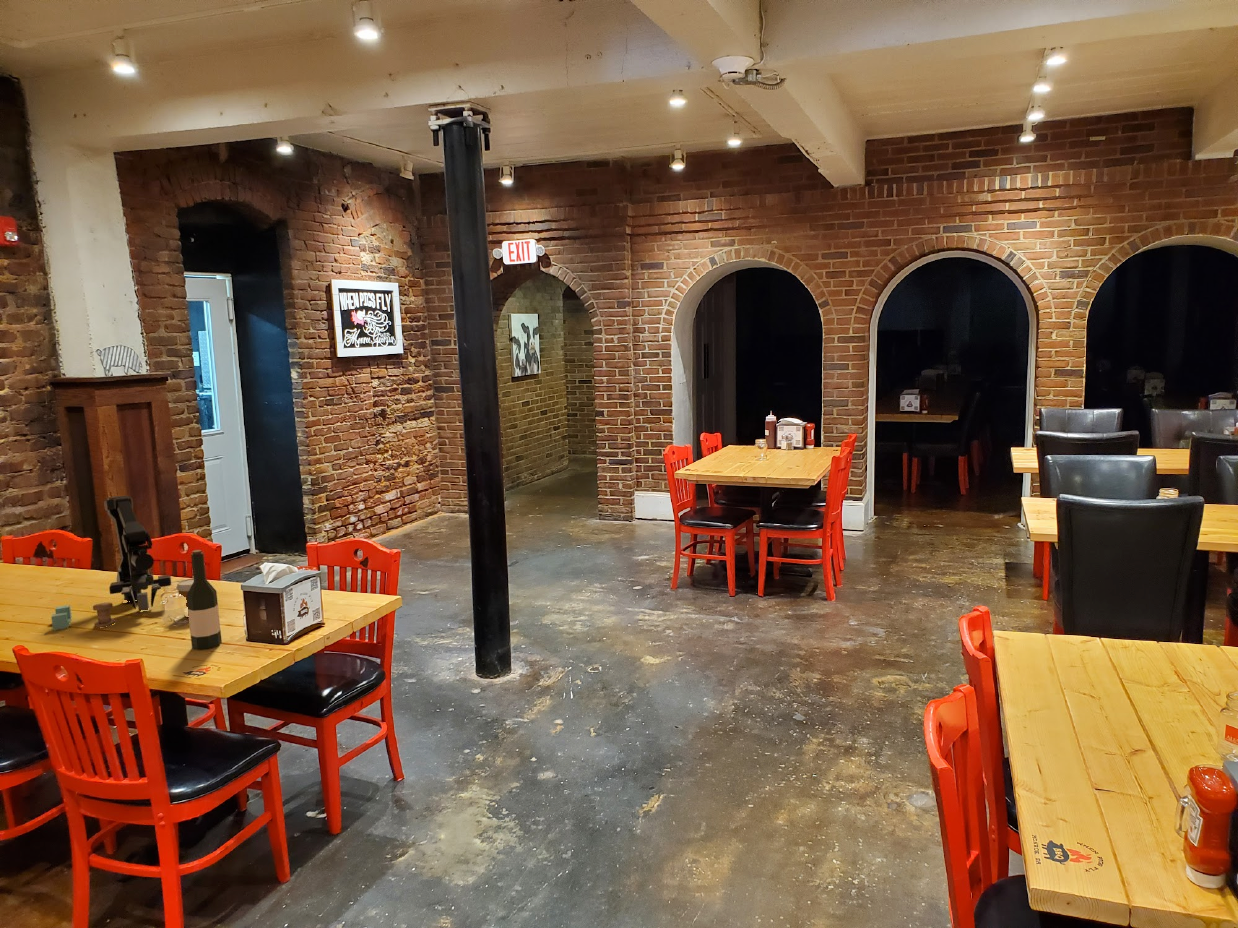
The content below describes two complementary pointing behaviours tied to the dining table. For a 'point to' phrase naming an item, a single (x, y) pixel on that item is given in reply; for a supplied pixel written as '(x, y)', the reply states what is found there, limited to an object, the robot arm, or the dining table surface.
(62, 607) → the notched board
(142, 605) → the grey upright block
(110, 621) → the spool
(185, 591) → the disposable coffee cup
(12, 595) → the dining table surface
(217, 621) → the wine bottle
